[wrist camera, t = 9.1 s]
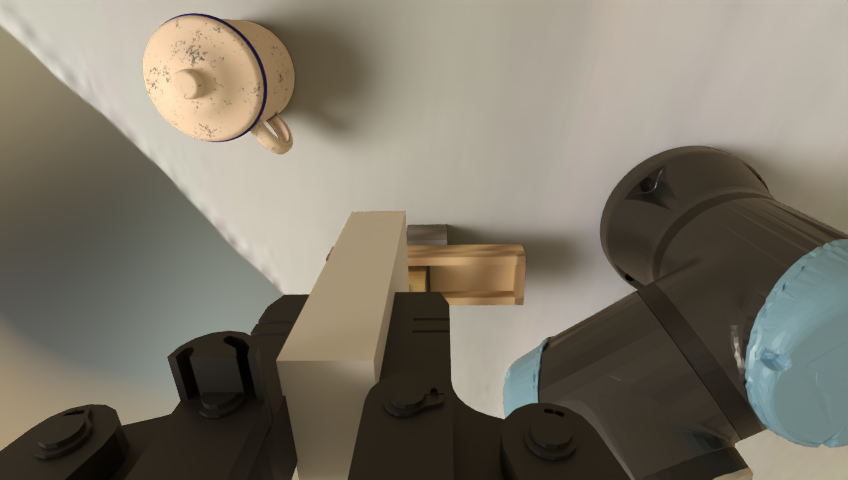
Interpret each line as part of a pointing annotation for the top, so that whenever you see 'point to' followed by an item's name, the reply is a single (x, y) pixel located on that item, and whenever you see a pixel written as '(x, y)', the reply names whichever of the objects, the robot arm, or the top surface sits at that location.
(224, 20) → the teacup with lid
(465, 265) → the beam
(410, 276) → the rider
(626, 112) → the top surface
